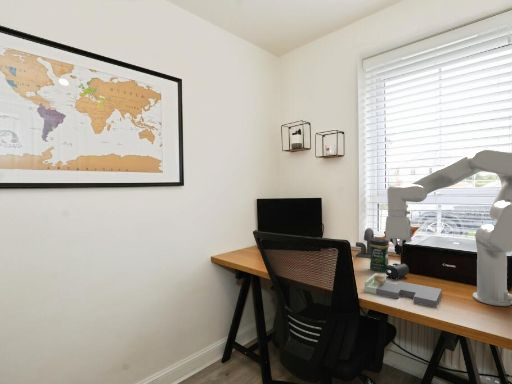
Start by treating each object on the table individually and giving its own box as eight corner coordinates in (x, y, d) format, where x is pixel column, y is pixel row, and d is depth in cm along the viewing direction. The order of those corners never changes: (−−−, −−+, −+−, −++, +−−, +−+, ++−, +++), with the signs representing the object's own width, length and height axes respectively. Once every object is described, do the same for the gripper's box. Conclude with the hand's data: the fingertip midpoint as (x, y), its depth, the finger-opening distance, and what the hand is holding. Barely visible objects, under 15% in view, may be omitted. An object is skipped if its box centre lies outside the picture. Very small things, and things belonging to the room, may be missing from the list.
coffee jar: (367, 270, 163) (367, 237, 162) (373, 267, 168) (373, 235, 168) (385, 273, 156) (385, 240, 155) (390, 270, 161) (390, 237, 161)
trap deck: (441, 294, 126) (441, 284, 126) (436, 307, 114) (436, 296, 114) (375, 281, 144) (375, 272, 144) (364, 291, 132) (364, 281, 132)
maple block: (385, 282, 135) (384, 274, 135) (383, 285, 132) (383, 276, 132) (376, 281, 138) (376, 273, 137) (374, 283, 134) (374, 275, 134)
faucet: (352, 259, 186) (351, 228, 186) (357, 254, 200) (357, 225, 199) (382, 263, 177) (382, 230, 176) (385, 257, 190) (385, 227, 189)
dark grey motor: (398, 281, 144) (398, 268, 144) (385, 277, 150) (385, 265, 150) (409, 277, 149) (409, 264, 149) (396, 274, 155) (396, 261, 155)
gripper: (417, 213, 127) (419, 254, 128) (382, 212, 137) (383, 250, 137) (414, 214, 122) (415, 257, 122) (377, 214, 131) (379, 253, 131)
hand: (398, 253), depth 130 cm, fingers closed
